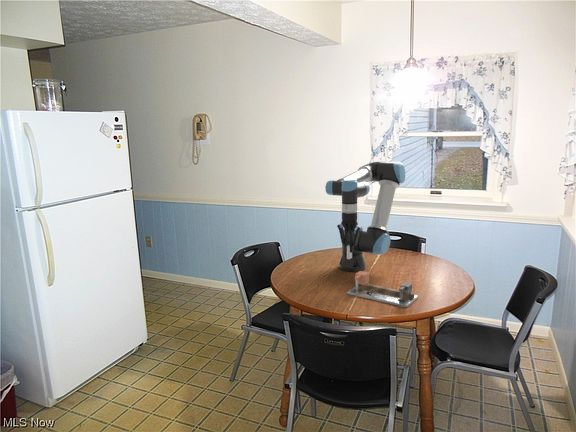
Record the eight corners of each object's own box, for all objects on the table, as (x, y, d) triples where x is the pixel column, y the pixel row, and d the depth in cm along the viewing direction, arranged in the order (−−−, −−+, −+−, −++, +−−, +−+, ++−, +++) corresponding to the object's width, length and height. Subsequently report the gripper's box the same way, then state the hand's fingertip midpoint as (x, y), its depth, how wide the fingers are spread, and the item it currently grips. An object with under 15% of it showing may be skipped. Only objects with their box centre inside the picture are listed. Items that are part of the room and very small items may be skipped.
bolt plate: (347, 293, 206) (347, 291, 206) (359, 285, 216) (359, 283, 216) (406, 307, 188) (406, 304, 188) (417, 297, 198) (417, 295, 198)
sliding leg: (351, 289, 207) (351, 276, 205) (360, 283, 214) (360, 270, 212) (360, 291, 204) (360, 277, 202) (369, 285, 211) (369, 272, 209)
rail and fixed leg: (350, 290, 207) (350, 278, 206) (359, 284, 214) (359, 273, 213) (408, 303, 190) (408, 290, 189) (415, 296, 197) (415, 284, 196)
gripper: (334, 211, 208) (334, 258, 213) (357, 214, 200) (357, 262, 205) (341, 209, 214) (341, 254, 218) (365, 211, 206) (364, 258, 211)
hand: (349, 258), depth 212 cm, fingers closed
